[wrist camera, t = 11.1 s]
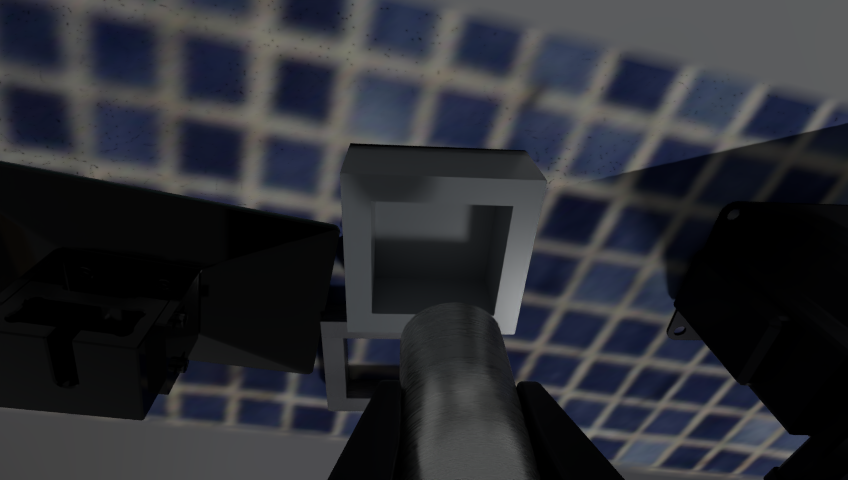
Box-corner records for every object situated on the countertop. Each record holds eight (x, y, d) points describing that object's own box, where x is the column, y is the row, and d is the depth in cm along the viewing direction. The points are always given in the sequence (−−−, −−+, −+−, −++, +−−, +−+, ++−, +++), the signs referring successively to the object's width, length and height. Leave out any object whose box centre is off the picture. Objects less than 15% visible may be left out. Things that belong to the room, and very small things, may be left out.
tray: (525, 150, 14) (547, 180, 12) (500, 289, 17) (514, 334, 15) (350, 143, 14) (339, 173, 11) (354, 286, 16) (347, 332, 14)
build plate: (341, 223, 15) (327, 313, 11) (312, 370, 18) (294, 479, 14) (-97, 141, 12) (-325, 219, 8) (-33, 331, 16) (-171, 449, 12)
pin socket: (452, 306, 17) (454, 323, 16) (442, 392, 20) (444, 411, 19) (324, 304, 17) (320, 321, 16) (331, 391, 19) (328, 410, 18)
